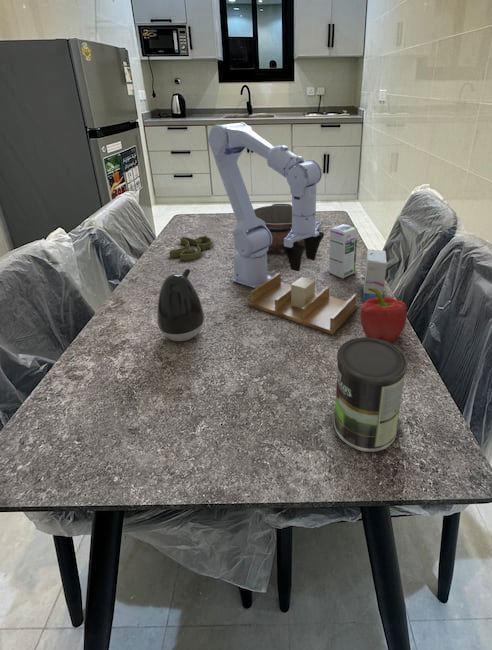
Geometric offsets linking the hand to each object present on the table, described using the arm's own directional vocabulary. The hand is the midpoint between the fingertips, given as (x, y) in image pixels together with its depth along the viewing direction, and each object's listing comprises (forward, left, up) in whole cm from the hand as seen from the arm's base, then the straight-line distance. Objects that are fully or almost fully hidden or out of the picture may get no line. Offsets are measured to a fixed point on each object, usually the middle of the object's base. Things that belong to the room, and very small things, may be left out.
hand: (303, 264), depth 97 cm
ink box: (+15, +12, -11) cm, 22 cm away
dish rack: (+2, -3, -10) cm, 11 cm away
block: (+2, -3, -9) cm, 10 cm away
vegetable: (+23, -4, -11) cm, 25 cm away
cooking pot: (-28, +31, -11) cm, 43 cm away
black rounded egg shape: (-15, -28, -11) cm, 34 cm away
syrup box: (+2, +20, -11) cm, 23 cm away
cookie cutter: (-50, +9, -11) cm, 52 cm away
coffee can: (+30, -30, -11) cm, 44 cm away
